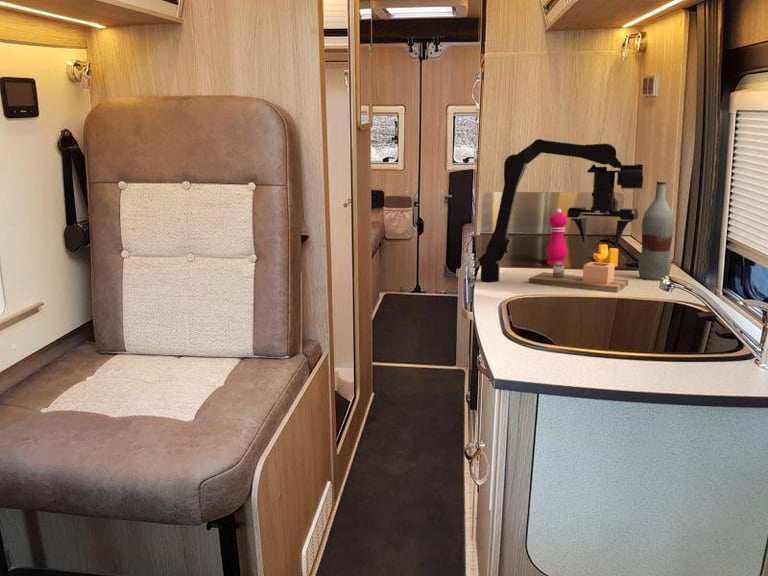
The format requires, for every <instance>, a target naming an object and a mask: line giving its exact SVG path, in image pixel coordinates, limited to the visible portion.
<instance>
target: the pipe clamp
mask: <svg viewBox="0 0 768 576" xmlns="http://www.w3.org/2000/svg"><path fill="white" fill-rule="evenodd" d="M608 247H609V246H608V244H605V243H604V244H602V243H601V244H598V253H595V252H594V253H592V254H593V257H592V258H593V259H594V260H593V259H592V260H593V261H594V262H599V263H611V264H615V267H616V268H617V267H618V262H619V248H613V247H611V248H608Z"/></svg>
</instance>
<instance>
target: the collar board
mask: <svg viewBox="0 0 768 576" xmlns="http://www.w3.org/2000/svg"><path fill="white" fill-rule="evenodd" d="M597 266H599V265H597ZM552 267H553V268H552V269H553V270H552V272H544V271H543V272H541V273H538V274H536V275H533V276H531V277H529V279H528V283H529V284H535V285H536V284H537V285H543V286H544V285H545V286H552V287H553V286H554V287H555V286H556V287H563V288H573V289H581V290H582V289H583V290H591V291H601V292H610V293H611V292H612V293H618V292H620V291H621V290H623V289H624V288H626V287H627V286H628V284H629V280H628V279H620V278H619V279H618V278H614V281H612V282H610V283H609V284H598V283H588V282H583V275H575V274H565V265H564V266H563V263H562V262H555V265H554V266H552Z"/></svg>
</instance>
